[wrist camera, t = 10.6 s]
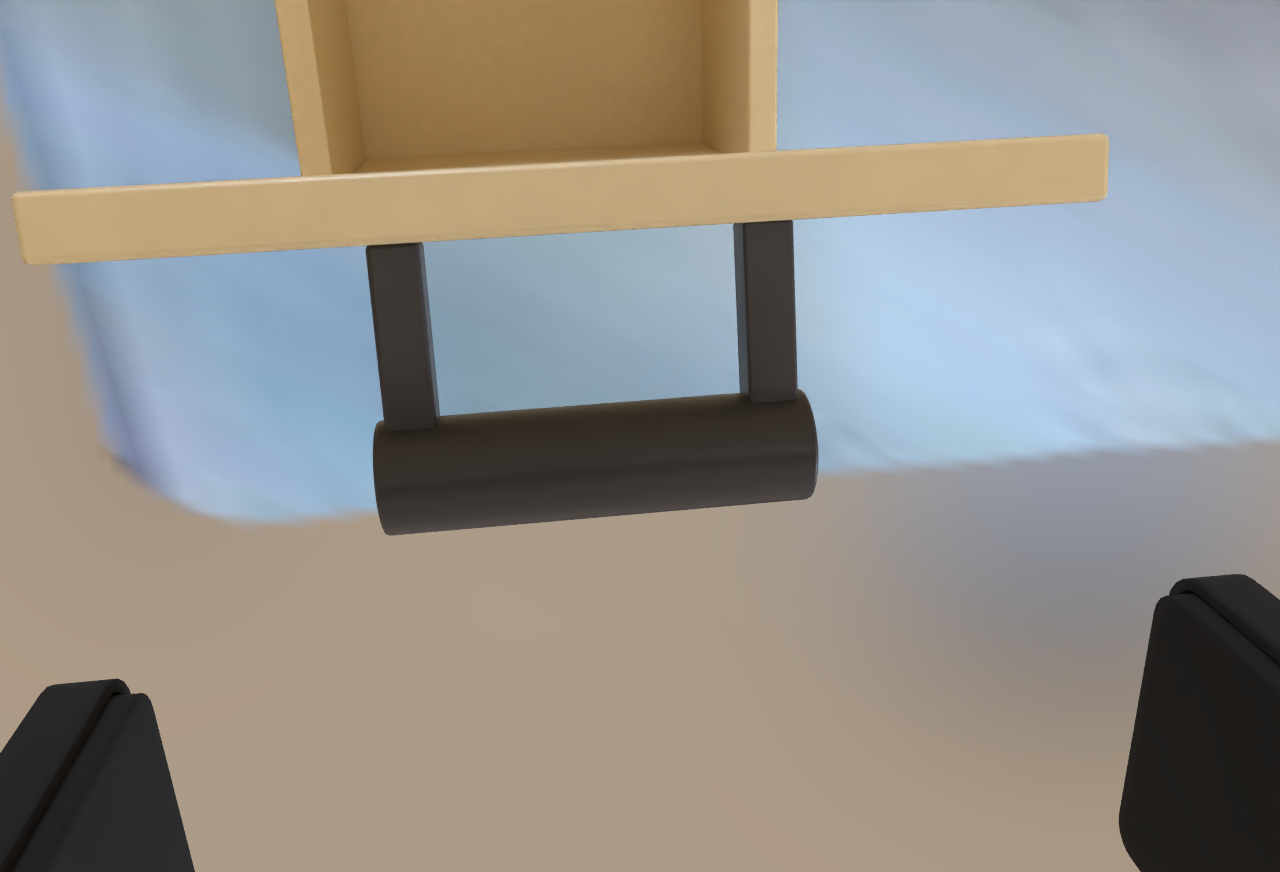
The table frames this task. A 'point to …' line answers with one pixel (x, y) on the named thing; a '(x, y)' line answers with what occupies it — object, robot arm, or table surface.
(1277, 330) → the table surface
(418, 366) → the lid
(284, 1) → the chest
